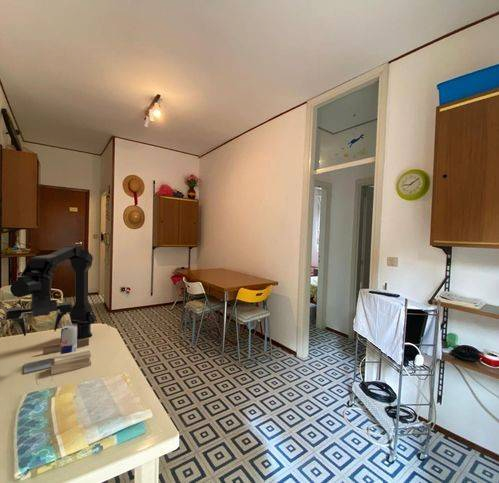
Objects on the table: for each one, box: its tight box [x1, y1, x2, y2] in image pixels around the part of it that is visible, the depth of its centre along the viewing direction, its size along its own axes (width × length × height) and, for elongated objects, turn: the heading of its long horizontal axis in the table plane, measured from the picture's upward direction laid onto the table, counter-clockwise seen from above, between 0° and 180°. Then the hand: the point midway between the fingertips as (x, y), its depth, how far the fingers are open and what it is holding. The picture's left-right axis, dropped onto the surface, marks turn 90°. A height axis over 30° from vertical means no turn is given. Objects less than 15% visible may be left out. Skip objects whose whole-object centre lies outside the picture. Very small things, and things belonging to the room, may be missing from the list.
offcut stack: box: [50, 348, 92, 376], centre depth 99 cm, size 5×12×4 cm, turn 129°
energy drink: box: [59, 324, 78, 355], centre depth 107 cm, size 5×5×12 cm
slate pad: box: [23, 357, 53, 375], centre depth 98 cm, size 8×8×1 cm
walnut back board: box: [42, 337, 90, 355], centre depth 113 cm, size 1×16×3 cm, turn 129°
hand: (40, 333), depth 98 cm, fingers open, 8 cm apart
